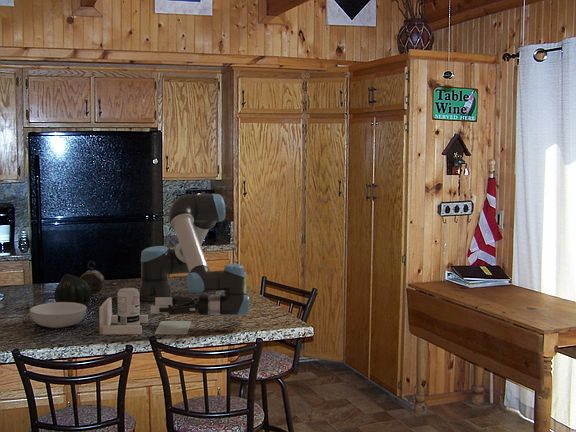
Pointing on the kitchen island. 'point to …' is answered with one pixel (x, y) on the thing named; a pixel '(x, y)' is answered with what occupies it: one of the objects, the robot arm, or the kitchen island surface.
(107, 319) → the open box
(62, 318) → the serving bowl
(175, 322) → the sage mat
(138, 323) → the supplement can
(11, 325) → the kitchen island surface
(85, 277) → the alarm clock
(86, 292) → the squash
